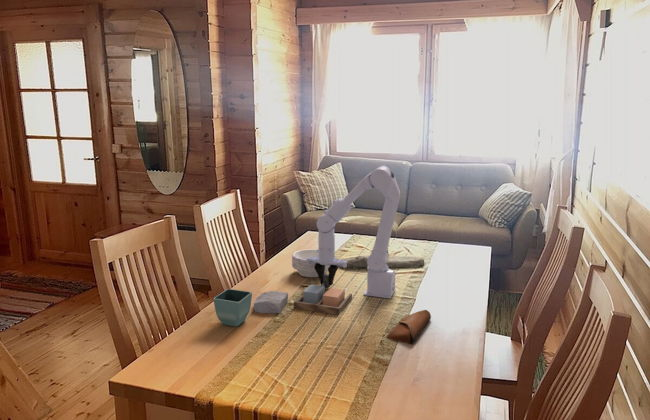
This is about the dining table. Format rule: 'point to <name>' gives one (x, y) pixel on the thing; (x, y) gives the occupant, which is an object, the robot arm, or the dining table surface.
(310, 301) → the grey mallet
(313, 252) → the paper bowls
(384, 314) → the dining table surface
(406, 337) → the sunglasses case
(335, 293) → the terracotta block
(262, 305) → the stone block
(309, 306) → the lane rack
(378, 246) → the robot arm
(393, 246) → the dining table surface
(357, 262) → the long grey stone
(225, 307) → the flower pot
